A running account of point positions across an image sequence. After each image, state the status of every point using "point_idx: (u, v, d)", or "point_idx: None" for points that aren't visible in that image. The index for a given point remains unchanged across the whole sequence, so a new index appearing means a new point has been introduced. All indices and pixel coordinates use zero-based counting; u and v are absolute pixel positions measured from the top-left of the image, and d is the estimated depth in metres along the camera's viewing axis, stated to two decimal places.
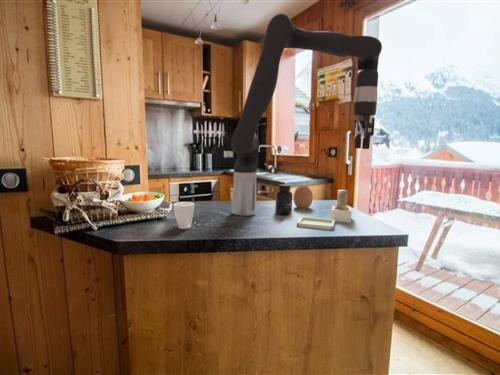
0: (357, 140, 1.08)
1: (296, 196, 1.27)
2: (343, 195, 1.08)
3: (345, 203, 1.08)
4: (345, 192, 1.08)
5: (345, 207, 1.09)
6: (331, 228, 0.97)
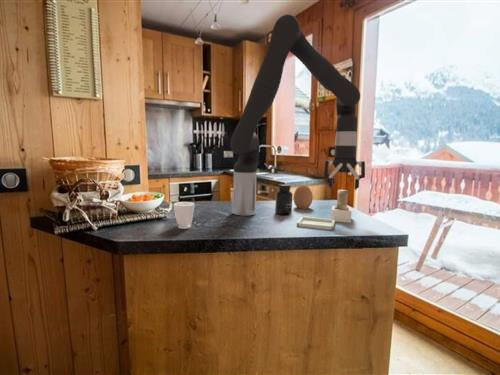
0: (332, 180, 1.09)
1: (296, 196, 1.27)
2: (343, 195, 1.08)
3: (345, 203, 1.08)
4: (345, 192, 1.08)
5: (345, 207, 1.09)
6: (331, 228, 0.97)
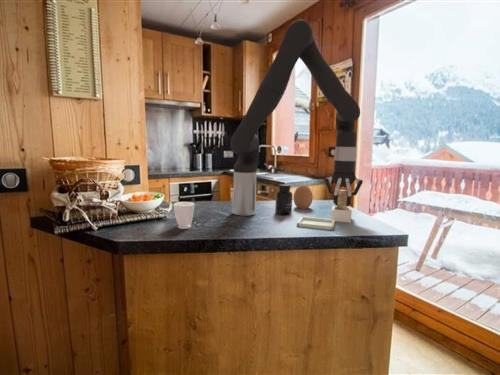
0: (337, 197, 1.10)
1: (296, 196, 1.27)
2: (343, 195, 1.08)
3: (345, 203, 1.08)
4: (345, 192, 1.08)
5: (345, 207, 1.09)
6: (331, 228, 0.97)
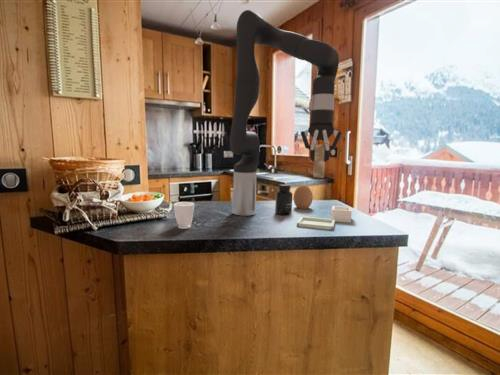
0: None
1: (296, 196, 1.27)
2: (320, 149, 0.97)
3: (322, 158, 0.98)
4: (322, 146, 0.97)
5: (323, 163, 0.98)
6: (331, 228, 0.97)
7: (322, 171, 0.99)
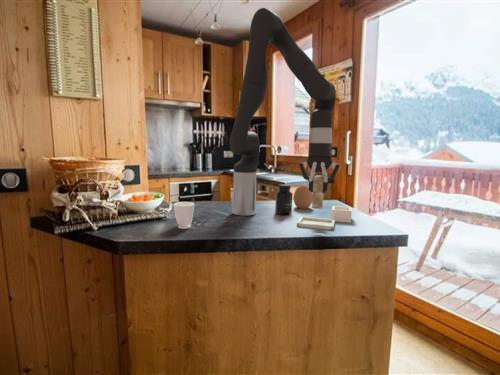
0: None
1: (296, 196, 1.27)
2: (319, 180, 0.99)
3: (321, 190, 0.99)
4: (321, 177, 0.99)
5: (321, 194, 1.00)
6: (331, 228, 0.97)
7: (321, 202, 1.00)
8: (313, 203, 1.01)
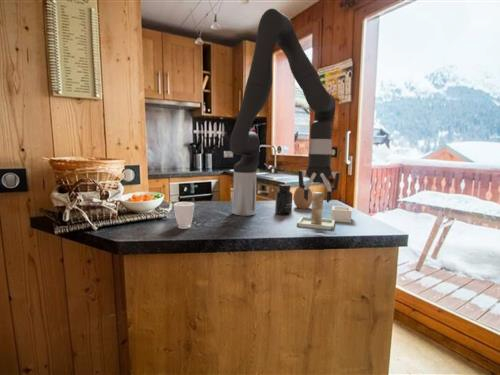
0: (308, 192, 1.02)
1: (296, 196, 1.27)
2: (318, 198, 0.99)
3: (320, 207, 1.00)
4: (320, 195, 0.99)
5: (320, 211, 1.01)
6: (331, 228, 0.97)
7: (320, 219, 1.01)
8: (312, 220, 1.02)
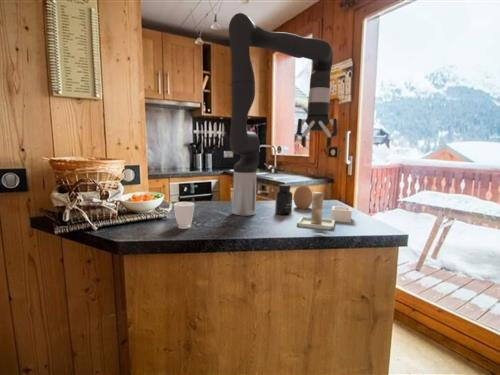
0: (305, 139, 1.09)
1: (296, 196, 1.27)
2: (318, 197, 1.00)
3: (320, 206, 1.01)
4: (320, 195, 1.00)
5: (320, 211, 1.01)
6: (331, 228, 0.97)
7: (320, 219, 1.01)
8: (312, 220, 1.02)
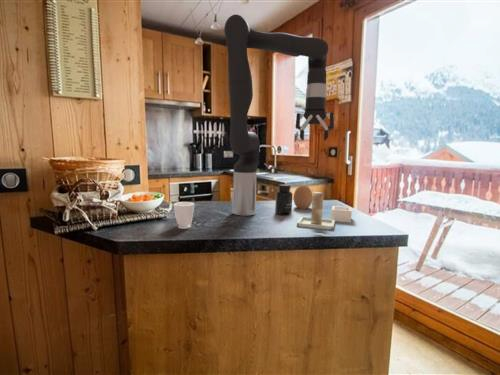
0: (303, 132, 1.15)
1: (296, 196, 1.27)
2: (318, 197, 1.00)
3: (320, 206, 1.01)
4: (320, 195, 1.00)
5: (320, 211, 1.01)
6: (331, 228, 0.97)
7: (320, 219, 1.01)
8: (312, 219, 1.02)
